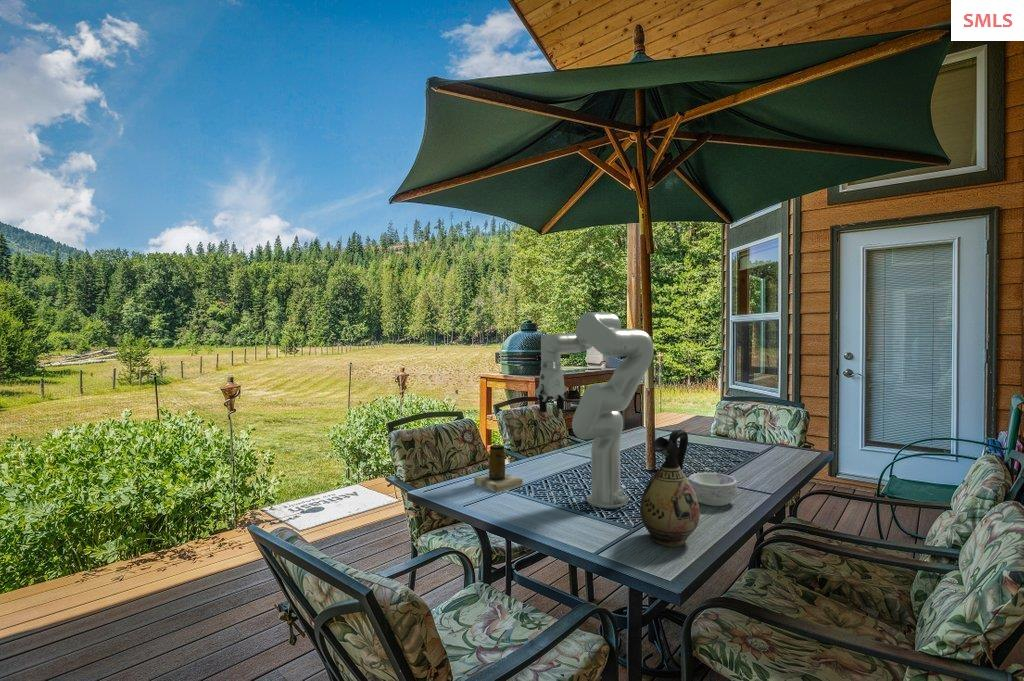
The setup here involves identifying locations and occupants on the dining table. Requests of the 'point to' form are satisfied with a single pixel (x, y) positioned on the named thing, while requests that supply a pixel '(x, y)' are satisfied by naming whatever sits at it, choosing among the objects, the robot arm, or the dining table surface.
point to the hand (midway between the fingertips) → (551, 410)
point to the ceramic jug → (670, 496)
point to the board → (498, 483)
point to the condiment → (497, 464)
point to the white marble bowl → (713, 488)
